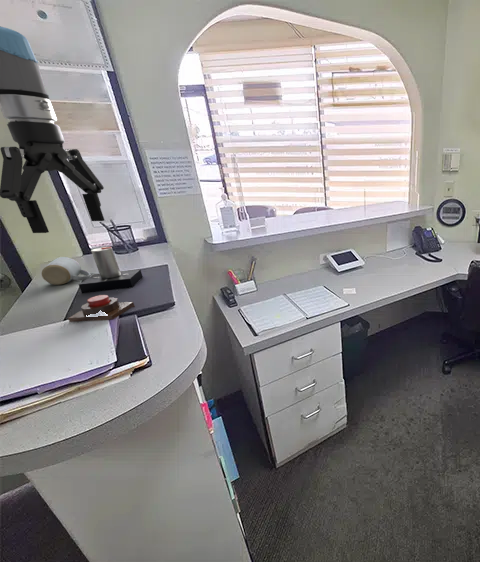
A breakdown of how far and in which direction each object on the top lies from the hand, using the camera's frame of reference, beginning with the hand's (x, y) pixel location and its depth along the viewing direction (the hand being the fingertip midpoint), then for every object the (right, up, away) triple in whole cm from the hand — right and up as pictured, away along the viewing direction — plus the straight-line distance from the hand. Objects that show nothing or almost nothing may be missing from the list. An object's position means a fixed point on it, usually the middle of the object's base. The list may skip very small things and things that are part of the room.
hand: (72, 226), depth 70 cm
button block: (+1, -22, +8) cm, 23 cm away
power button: (+1, -18, +7) cm, 19 cm away
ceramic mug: (-34, -13, +34) cm, 49 cm away
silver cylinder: (-15, -11, +28) cm, 34 cm away
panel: (-15, -14, +29) cm, 36 cm away
